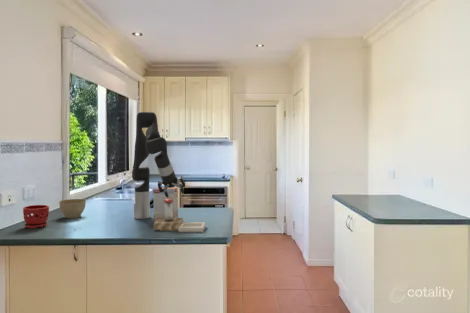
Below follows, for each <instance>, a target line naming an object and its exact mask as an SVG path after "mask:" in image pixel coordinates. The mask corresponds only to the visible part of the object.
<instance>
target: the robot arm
mask: <svg viewBox="0 0 470 313" xmlns="http://www.w3.org/2000/svg"><path fill="white" fill-rule="evenodd" d="M135 122H136V125H135V126H136V130H135V132H136V134H135V141H134V142H135V143H134V155H133V156H134V158H133V164H132V170H131V178H132V180H133V181H135V182H143V183H141V184H139V185H137V186H135V187H134V203H133V218H134V219H138V220H142V219H143V220H144V219H149V218H150V216H151V212H150V210H151V209H150V207H151V206H150V205H151V204H150V199H151V198H150V177H151V176H150V175H151V174H150V168H149V167H148V166H141V164H142V163H143V162H144V161H145V160H147V158H148V157H149V155H154V154H156V155H155V156H154V162H155V165H156V167H157V171H158V173H159V176H160V178H161V181H157V187H158V188H159V191H160V192H161V193H162V192H164V194H165V196H166V197H169V195H168V192H167V188H179V189H180V193H181V194H184V193H185V189H184V188H185V187H186V182H185V180H184V178H183V176H182V175H180V176H179V177H177V176H176V173H175V170H174V168H173V166H172V163H171V161H170V158H169V155H168V146H167V145H168V144H167V140H166V138H164V137H162V136H161V134H160V132H159V125H158V118H157V115H156V113H155V112H154V111H138V113H137V114H136V121H135ZM143 129H146V130H145V133H144V130H143ZM163 186H164V187H163ZM162 188H164V189H162Z"/></svg>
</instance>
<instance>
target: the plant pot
mask: <svg viewBox="0 0 470 313" xmlns="http://www.w3.org/2000/svg"><path fill="white" fill-rule="evenodd" d="M22 213H23V219H24V222H25V223H24V227H25V228H26V227H27V229H38V228H37V227H41V228H44V227H46V226H47V225H48V222H47V221H48V218H49V214H50V206H49V205H48V204H47V205H46V204H35V205H34V204H33V205H27V206H26V205H25V206H24V207H23V209H22ZM43 226H44V227H43Z"/></svg>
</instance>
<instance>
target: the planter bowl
mask: <svg viewBox="0 0 470 313" xmlns="http://www.w3.org/2000/svg"><path fill="white" fill-rule="evenodd" d="M58 203H59V209H60V211H61V213H62V215H63V216H64V218H65V219H76V218H80V217H81V216H82V214H83V212H84V210H85V208H86V203H87V200H86V199H84V198H83V199H82V198H81V199H80V198H73V199H71V198H70V199H63V200H59V201H58Z"/></svg>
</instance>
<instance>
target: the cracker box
mask: <svg viewBox="0 0 470 313" xmlns="http://www.w3.org/2000/svg"><path fill="white" fill-rule="evenodd" d="M178 188H179V187H171V188H169V187H168V188H167V192H168V195H169V197H166V196H165V194H164V192H162V193H161V192H160V191H159V188H158V186H157V187H154V188H153V222H154V223H155V222H156V221H157V220H158V219H159V218H165V202H164V199H174V201H173V218H179V190H178ZM162 189H164V187H162Z"/></svg>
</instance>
